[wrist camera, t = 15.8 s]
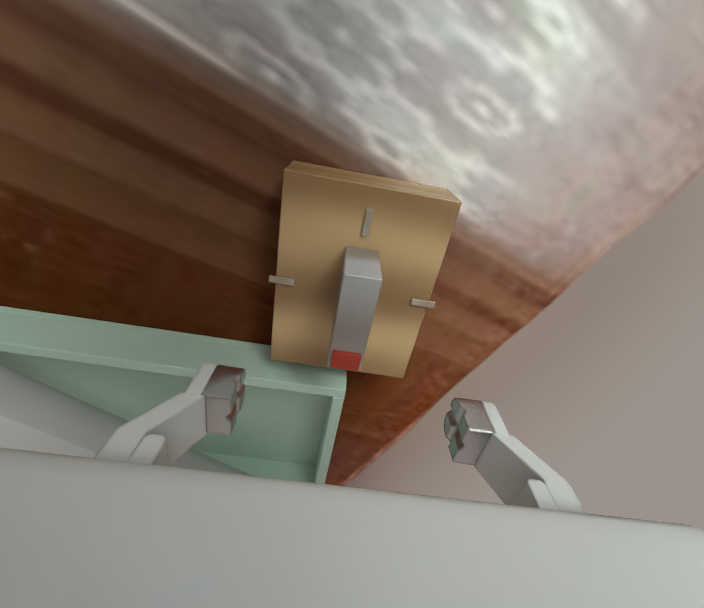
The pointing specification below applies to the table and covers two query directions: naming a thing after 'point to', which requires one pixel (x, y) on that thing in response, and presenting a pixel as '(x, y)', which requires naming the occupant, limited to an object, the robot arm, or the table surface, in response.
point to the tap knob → (354, 308)
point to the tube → (67, 424)
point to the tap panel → (328, 253)
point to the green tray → (185, 385)
